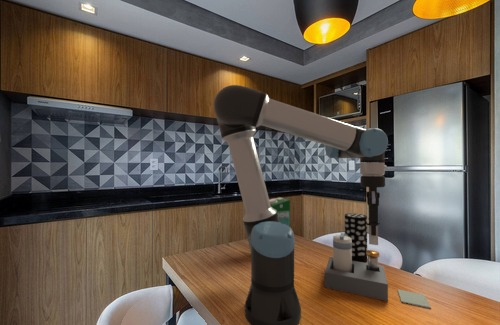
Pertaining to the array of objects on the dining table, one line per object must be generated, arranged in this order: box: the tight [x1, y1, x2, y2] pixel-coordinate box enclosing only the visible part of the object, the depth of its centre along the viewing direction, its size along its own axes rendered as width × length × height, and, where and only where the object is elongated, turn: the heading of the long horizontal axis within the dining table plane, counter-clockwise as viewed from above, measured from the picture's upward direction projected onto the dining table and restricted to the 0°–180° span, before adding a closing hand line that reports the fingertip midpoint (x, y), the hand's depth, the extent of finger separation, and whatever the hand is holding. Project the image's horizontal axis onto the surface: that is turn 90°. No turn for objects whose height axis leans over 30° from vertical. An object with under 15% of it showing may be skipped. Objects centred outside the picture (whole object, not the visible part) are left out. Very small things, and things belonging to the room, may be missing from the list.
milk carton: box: [269, 196, 291, 228], centre depth 106 cm, size 9×9×25 cm
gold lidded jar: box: [366, 249, 380, 272], centre depth 79 cm, size 4×4×6 cm
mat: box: [397, 289, 432, 310], centre depth 70 cm, size 7×7×1 cm
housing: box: [324, 256, 389, 302], centre depth 79 cm, size 14×18×5 cm
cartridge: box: [332, 232, 352, 273], centre depth 81 cm, size 6×6×16 cm
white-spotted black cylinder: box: [344, 212, 368, 263], centre depth 93 cm, size 8×8×20 cm
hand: (373, 244), depth 79 cm, fingers closed
